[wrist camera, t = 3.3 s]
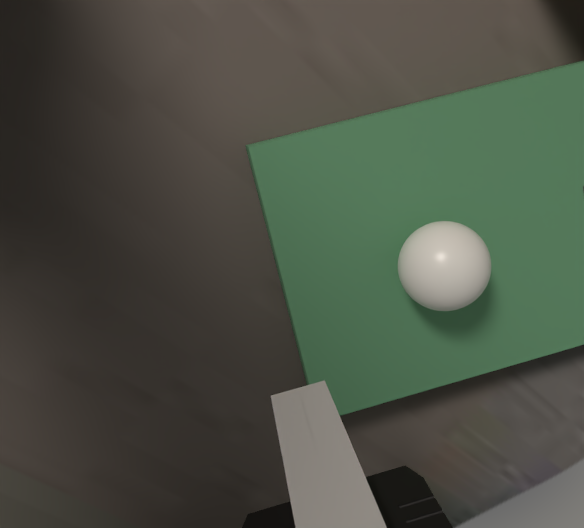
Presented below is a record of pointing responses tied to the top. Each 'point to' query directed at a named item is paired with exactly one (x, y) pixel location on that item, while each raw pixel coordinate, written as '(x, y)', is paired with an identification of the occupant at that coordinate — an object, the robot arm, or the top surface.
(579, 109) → the green
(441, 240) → the ball
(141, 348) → the top surface
